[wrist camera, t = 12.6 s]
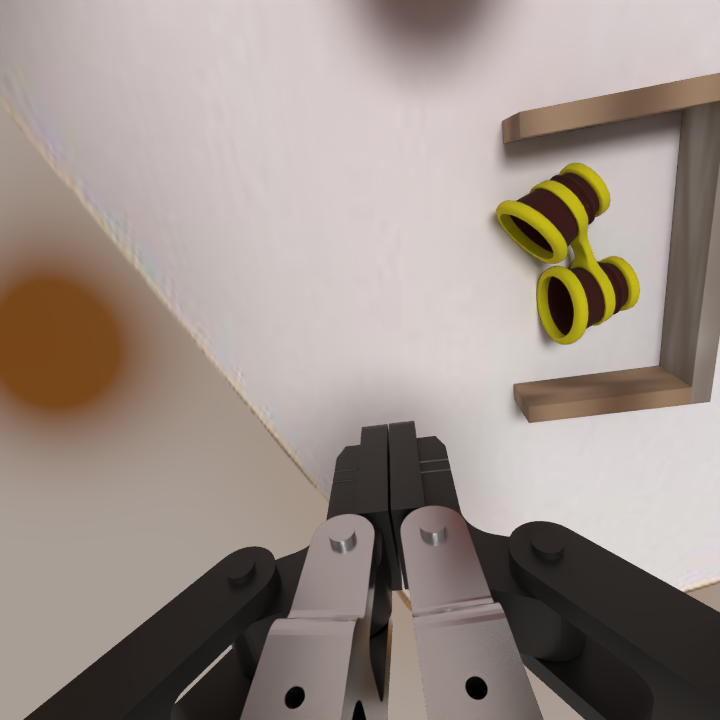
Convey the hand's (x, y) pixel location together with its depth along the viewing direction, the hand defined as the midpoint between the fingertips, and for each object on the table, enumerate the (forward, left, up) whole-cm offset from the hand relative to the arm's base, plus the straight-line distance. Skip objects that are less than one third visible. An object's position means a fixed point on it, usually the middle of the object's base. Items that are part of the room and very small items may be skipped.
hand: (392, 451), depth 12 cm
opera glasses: (+11, +1, -19) cm, 22 cm away
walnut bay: (+13, 0, -19) cm, 23 cm away
